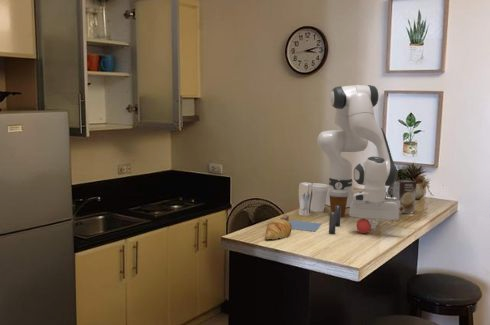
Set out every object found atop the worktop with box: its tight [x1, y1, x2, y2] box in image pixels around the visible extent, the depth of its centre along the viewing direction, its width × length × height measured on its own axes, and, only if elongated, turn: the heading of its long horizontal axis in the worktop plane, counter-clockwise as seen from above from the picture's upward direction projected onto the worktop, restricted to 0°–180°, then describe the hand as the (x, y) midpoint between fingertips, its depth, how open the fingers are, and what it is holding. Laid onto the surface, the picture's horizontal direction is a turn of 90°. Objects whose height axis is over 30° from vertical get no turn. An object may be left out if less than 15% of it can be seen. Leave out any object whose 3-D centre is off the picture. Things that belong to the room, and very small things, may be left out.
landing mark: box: [288, 220, 322, 233], centre depth 225 cm, size 14×14×1 cm
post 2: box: [335, 205, 342, 228], centre depth 226 cm, size 3×3×9 cm
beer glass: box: [298, 181, 314, 217], centre depth 246 cm, size 7×7×15 cm
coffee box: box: [392, 179, 417, 215], centre depth 254 cm, size 9×6×16 cm
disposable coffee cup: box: [329, 189, 349, 218], centre depth 245 cm, size 10×10×12 cm
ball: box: [356, 218, 372, 234], centre depth 216 cm, size 6×6×6 cm
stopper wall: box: [279, 215, 290, 222], centre depth 228 cm, size 12×2×2 cm, turn 160°
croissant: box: [264, 218, 292, 240], centre depth 210 cm, size 21×10×8 cm, turn 152°
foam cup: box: [311, 182, 329, 213], centre depth 254 cm, size 10×9×13 cm
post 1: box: [328, 211, 336, 235], centre depth 214 cm, size 3×3×9 cm
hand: (373, 228), depth 215 cm, fingers closed
